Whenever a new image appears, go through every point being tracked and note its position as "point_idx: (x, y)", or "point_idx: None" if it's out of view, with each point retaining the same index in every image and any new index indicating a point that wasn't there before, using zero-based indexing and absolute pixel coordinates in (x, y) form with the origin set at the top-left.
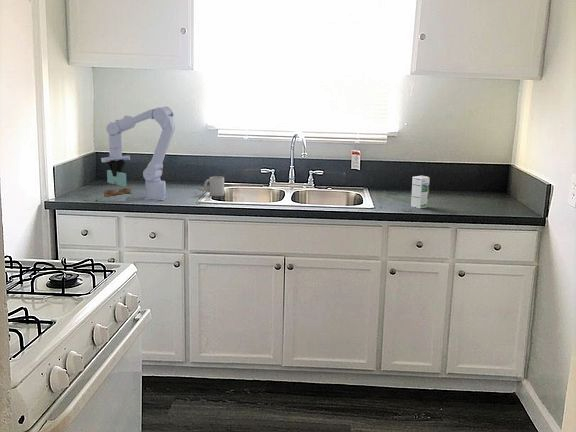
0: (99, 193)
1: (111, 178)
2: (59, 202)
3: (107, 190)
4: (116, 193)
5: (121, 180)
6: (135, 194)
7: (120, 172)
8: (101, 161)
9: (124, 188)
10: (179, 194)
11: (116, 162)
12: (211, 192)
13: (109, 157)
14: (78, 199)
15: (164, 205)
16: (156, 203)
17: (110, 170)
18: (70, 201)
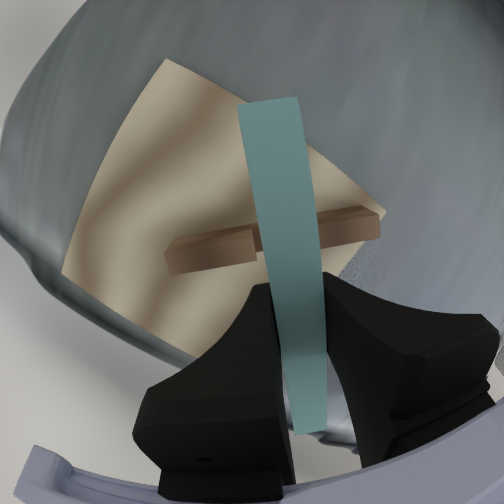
0: (211, 62)
1: (256, 212)
2: (3, 229)
3: (195, 248)
4: (261, 250)
5: (284, 372)
6: (390, 214)
7: (321, 376)
8: (33, 452)
9: (339, 234)
10: (485, 307)
11: (383, 400)
12: (501, 363)
13: None
14: (59, 197)
15: (336, 434)
16: (337, 413)
17: (286, 149)
18: (30, 229)
